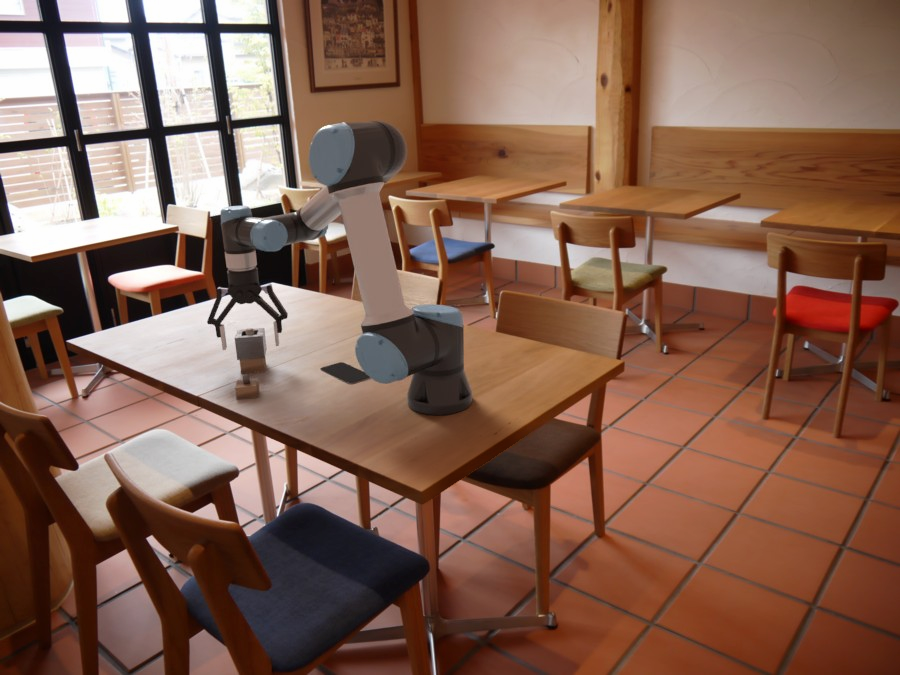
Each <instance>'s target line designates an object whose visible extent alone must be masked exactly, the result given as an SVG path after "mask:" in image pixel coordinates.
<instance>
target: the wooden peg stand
mask: <svg viewBox="0 0 900 675" xmlns="http://www.w3.org/2000/svg"><path fill="white" fill-rule="evenodd" d="M253 329H254V328H253V327H252V328H251V327H250V328H249V327H248V328H246V329H245V331H246V336H247V335H254V331H253ZM266 359H267V358H266V357H265V358H257V359H244V360H239V365H240V374H242V375H243V374H252V373H264V372H265V373H266V367H267V361H266Z"/></svg>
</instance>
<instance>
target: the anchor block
mask: <svg viewBox="0 0 900 675" xmlns="http://www.w3.org/2000/svg"><path fill="white" fill-rule="evenodd" d="M241 377H242V379H237V380H236V383H235V387H234V389H235V398H236V400H244V399H256V398H258V397H259V393H260V386H259V385H260V384H259V378H250V373H243V374H242V375H241Z"/></svg>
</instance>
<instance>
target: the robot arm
mask: <svg viewBox="0 0 900 675" xmlns="http://www.w3.org/2000/svg"><path fill="white" fill-rule="evenodd" d="M407 156H408V147H407V142H406V140H405V137H404V135H403V134H402V132H401V131H400V130H399V129H398V128H397V127H396V126H394V125H393V124H391V123H388V122H385V121H382V120H381V121H380V120H372V121H356V122H339V123H334V124H328V125H325V126H322V127H321V128H319V129H318V130H317V132H316V133H315V134H314V135H313V137H312V141H311V142H310V144H309V149H308V164H309V169H310V172H311V174H312V177H313V178H314V179H316V182H318V184H321V185H323V187H322V188H321V189H320V190H319V191H318V192H316V193H315V195H313V196H312V197H311V198H310V199H308V201H307V202H306V203H305V204H303V206H301V207H300V208H299V209H297V211H294V212H290V213H289V212H288V213H283V214H279V215H271V216H267V217H254V216H253V213H252V210H251V208H250V207H249V206H247V205H232V206H226V207H223V208H222V209H221V210H220V227H221V234H222V242H223V248H224V258H225V265H226V269H227V271H226V274H227V282H228V287H222V286H218V287H217V289H216V298H215V301H214V303H213V306H212V308H211V311H210V312H209V313H210V314H209V315H208V318H207V322H206V323H207V324H208V325H212V326H214V327H215V333H216V338H220V340H221V346H222V347H221V349H222V351H226V350H227V336H226V330H225V323H223V321H224V320H225V318H226V317H227V316H228V314H229V313H230V311H231V310H232V309H233V307H234V306H235V305H236V303H237V304H239V305H244V304H253V303H256V304H257V306H259V307H261V309H263V310H264V311H265V312H266V313H267V314H268V315H269V316H270V317H271V318H273V332H274V340H275V347H280V339H279V338H280V337H279V334H282V332H283V325H282V324H283V323H282V321H283V320H287V319H288V312H287V310H286V308H285V307H284V305H283V304H282V302H281V301H280V299H279V297H278V295H276V293H275V292H274V288H273V285H272V284H271V283H267V284H265V285H261V284H260V281H259V270H258V269H259V268H258V267H257V265H258V262H257V253H256V250H259V251H262V252H263V251H264V252H278V251H280V250H281V249H282V248H283V247H285V246H288V245H292V244H298V243H303V242H307V241H314V240H317V239H319V238H322V237H324V236H325V235H327V230H328V229H329V225H330V224H332V222H334V220H336V219H337V218H338V217H340V216H341V218H342V222H343V226H344V230H345V235H346V238H347V243H348V247H349V251H350V254H351V255H350V256H351V260H352V264H353V268H354V272H355V276H356V281H357V285H358V290H359V293H360V296H361V301H362V304H363V305H362V306H363V310H364V316H363V319H362V320H361V322H360V328H361V333H362V334H361V335H360V336H359V337H358V338H357V340H356V344H355V347H354V350H355V351H354V353H355V356H356V360H357V363H358V365H359V367H360V368H361V369H362V370H361V371H363V372H365V373H366V374H367V375H369V376H370V379H371V380H373V381H375V382H377V383H379V384H384V385H385V384H392V383H395V382H399V381H403V380H404V379H406V378H407V377H410V376H411V380H410V382H409V383H410V384H409V387H408V390H407V397H406V398H407V406H408V407H409V408H410V409H411V410H413V411H415V412H416V413H417V412H418V413H421V414H424V415H431V416H432V415H433V416H434V415H435V416H442V415H443V416H444V415H451V414H456V413H459V412H462V411H465V410H467V409H468V408H469V407H470V406H471V405H472V403H473V391H472V388H471V386H470V382H469V381H468V377H467V374H466V372H465V352H464V351H465V349H464V346H465V344H464V343H465V342H464V337H465V335H464V328H465V326H464V319H463V316H464V315H463V313H462V311H461V310H460V309H458V308H457V307H455V306H450V305H444V304H419V305H414V306H412V308H410V307H408V306H406V304H405V301H404V296H403V290H402V287H401V282H400V278H399V275H398V270H397V265H396V259H395V256H394V251H393V248H392V244H391V239H390V235H389V231H388V227H387V221H386V218H385V213H384V209H383V205H382V200H381V195H380V193H381V190H382V189H383V187H384V185H385V184H386V183H387V182H389V181H391V179H394V177H395V176H396V175H397V174H398V173H399V172H400V171H401V170H402V168H403V167H404V166H405V163H406V161H407ZM262 291H263V292H264V294H266V295H268V297H269V299H270V301H272V302H271V303H273V305H274V306H275V308H276V310H277V311H278V312H277V311H276V310H275V308H274V307H272V306H271V305H270V304H269V303H268V302H266V300H264V298H263V297H262V296H261V295H260V294H261V293H262ZM226 294H228V295H229V296H230V297H231V299H230V301H229V302H228V303H227V305H226V306H225V307H224V309H223V310H222V312H221V313H220V315H219V316H218V317H217V318H215V316H216V315H217V311H218V308H219V306H220V303H221V301H222V300H223V297H225V296H226Z"/></svg>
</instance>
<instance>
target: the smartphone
mask: <svg viewBox="0 0 900 675" xmlns="http://www.w3.org/2000/svg"><path fill="white" fill-rule="evenodd" d="M320 371H321V372H324V373H325V374H327V375H329V376H331V377H333V378H336V380H337V379H338V380H339V381H342V382H344V383H345V384H348V385H354V384H357V383H360V382H364V381H366V380H370V379H371V378H370V376H369V375H367V374H366V373H365V372H364V371H363V370H361V369H358V368H357V367H354V366H352V365H350V364H348V363H345V362H343V361H339V362H337V363H332V364H329V365H326V366H322V367H321V368H320Z"/></svg>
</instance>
